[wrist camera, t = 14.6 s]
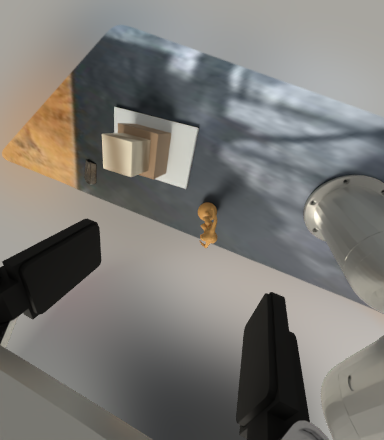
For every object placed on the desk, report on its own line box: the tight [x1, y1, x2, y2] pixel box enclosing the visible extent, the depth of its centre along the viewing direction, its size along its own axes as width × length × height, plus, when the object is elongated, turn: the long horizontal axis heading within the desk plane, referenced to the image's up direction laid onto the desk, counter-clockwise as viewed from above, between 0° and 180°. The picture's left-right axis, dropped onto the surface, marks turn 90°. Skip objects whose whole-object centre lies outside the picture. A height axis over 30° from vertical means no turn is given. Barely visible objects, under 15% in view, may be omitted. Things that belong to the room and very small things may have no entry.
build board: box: [114, 107, 199, 189], centre depth 37 cm, size 18×12×6 cm, turn 78°
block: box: [84, 160, 96, 184], centre depth 48 cm, size 4×6×2 cm, turn 162°
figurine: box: [198, 202, 217, 248], centre depth 36 cm, size 8×6×12 cm
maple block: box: [102, 133, 151, 177], centre depth 32 cm, size 5×5×5 cm
